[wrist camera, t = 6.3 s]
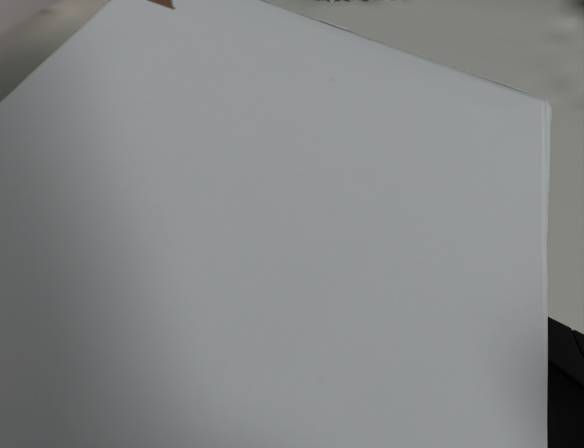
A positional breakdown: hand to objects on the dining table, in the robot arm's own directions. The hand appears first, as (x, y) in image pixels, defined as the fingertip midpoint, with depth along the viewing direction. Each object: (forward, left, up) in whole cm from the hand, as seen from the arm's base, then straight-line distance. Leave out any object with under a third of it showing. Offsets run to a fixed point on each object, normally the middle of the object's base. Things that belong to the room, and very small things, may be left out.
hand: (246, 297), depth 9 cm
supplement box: (-1, -1, -7) cm, 7 cm away
